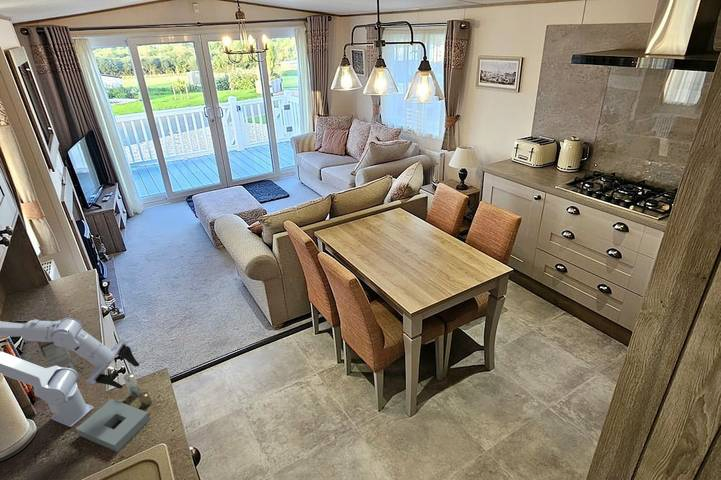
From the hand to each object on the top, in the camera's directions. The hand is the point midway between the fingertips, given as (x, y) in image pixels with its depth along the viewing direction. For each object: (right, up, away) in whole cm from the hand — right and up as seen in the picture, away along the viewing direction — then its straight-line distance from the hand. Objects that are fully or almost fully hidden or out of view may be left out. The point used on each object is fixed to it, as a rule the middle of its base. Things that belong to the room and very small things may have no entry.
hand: (129, 376), depth 127 cm
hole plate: (-3, -15, -2) cm, 15 cm away
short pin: (+3, -11, +5) cm, 12 cm away
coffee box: (-35, -5, +20) cm, 41 cm away
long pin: (-3, -9, +9) cm, 13 cm away
